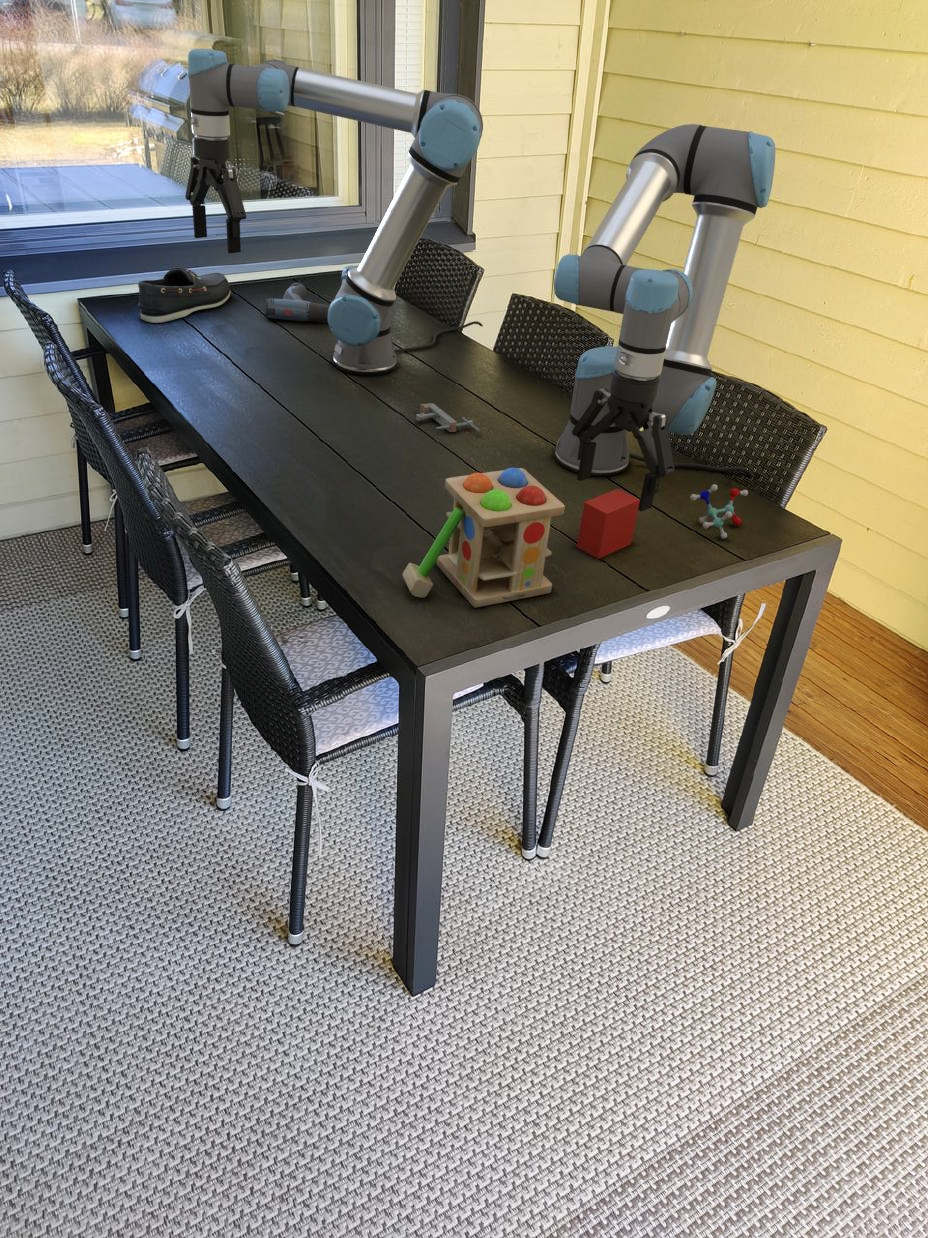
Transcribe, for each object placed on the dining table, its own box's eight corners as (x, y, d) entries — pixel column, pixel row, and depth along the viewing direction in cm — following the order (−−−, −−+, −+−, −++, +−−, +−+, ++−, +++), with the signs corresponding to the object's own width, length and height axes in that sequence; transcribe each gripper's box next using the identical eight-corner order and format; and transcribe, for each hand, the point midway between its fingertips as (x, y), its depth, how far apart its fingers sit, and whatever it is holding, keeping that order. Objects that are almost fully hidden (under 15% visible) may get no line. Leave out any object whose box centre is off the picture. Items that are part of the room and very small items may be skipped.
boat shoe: (248, 301, 272) (246, 262, 267) (158, 325, 248) (153, 283, 243) (214, 293, 278) (211, 255, 272) (123, 315, 254) (117, 274, 248)
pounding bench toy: (424, 619, 150) (431, 515, 140) (388, 572, 160) (393, 472, 150) (553, 592, 159) (568, 494, 149) (511, 550, 169) (523, 455, 159)
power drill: (344, 304, 276) (335, 327, 259) (277, 298, 275) (264, 321, 258) (344, 285, 273) (335, 306, 256) (277, 279, 272) (264, 300, 255)
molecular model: (753, 532, 175) (738, 478, 173) (701, 547, 178) (685, 494, 177) (757, 522, 185) (742, 472, 184) (707, 537, 189) (692, 487, 187)
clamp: (408, 405, 213) (448, 399, 218) (407, 414, 215) (447, 409, 219) (441, 432, 203) (482, 426, 207) (440, 442, 204) (481, 435, 209)
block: (576, 547, 173) (584, 501, 168) (609, 532, 178) (618, 488, 173) (598, 559, 170) (606, 513, 165) (631, 544, 175) (640, 499, 170)
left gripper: (163, 126, 205) (172, 232, 217) (228, 148, 191) (233, 260, 202) (195, 125, 209) (202, 229, 221) (261, 146, 195) (264, 256, 207)
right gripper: (563, 353, 161) (545, 471, 173) (685, 402, 147) (657, 528, 158) (593, 346, 166) (574, 461, 177) (714, 393, 151) (685, 516, 163)
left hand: (217, 244), depth 212 cm, fingers open, 13 cm apart
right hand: (613, 493), depth 168 cm, fingers open, 13 cm apart
